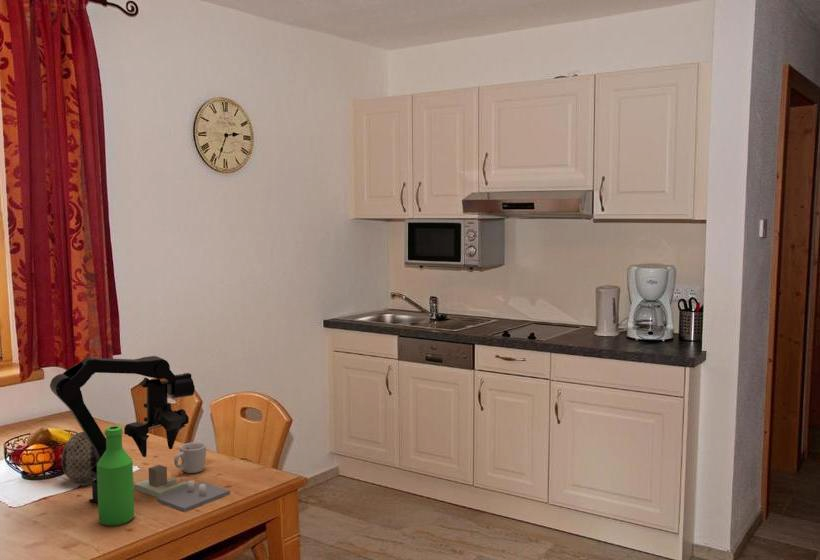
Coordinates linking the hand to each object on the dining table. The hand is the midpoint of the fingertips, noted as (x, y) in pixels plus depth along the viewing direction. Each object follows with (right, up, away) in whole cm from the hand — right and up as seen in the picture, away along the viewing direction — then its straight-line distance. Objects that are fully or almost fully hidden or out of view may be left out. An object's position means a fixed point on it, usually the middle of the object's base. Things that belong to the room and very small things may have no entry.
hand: (157, 452), depth 221 cm
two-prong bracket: (+1, -11, +1) cm, 11 cm away
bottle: (-4, -13, -21) cm, 25 cm away
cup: (+5, -10, +15) cm, 19 cm away
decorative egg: (-24, -10, +7) cm, 27 cm away
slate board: (+12, -12, -5) cm, 18 cm away
